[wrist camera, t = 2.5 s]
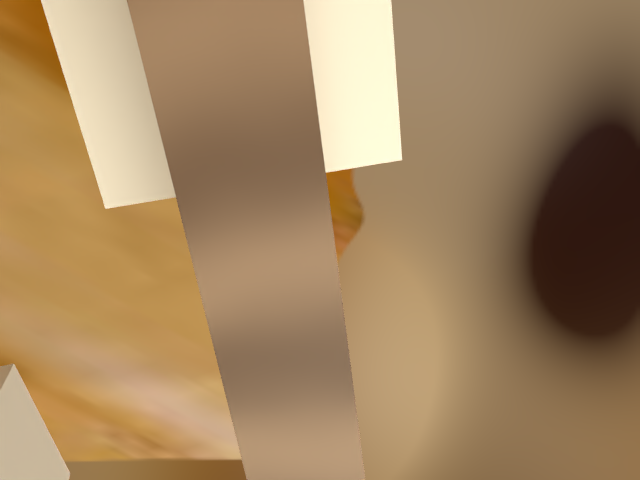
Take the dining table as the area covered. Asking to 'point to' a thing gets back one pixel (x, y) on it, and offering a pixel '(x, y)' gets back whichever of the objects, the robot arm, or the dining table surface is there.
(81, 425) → the dining table surface
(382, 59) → the white pedestal
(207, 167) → the walnut bar
